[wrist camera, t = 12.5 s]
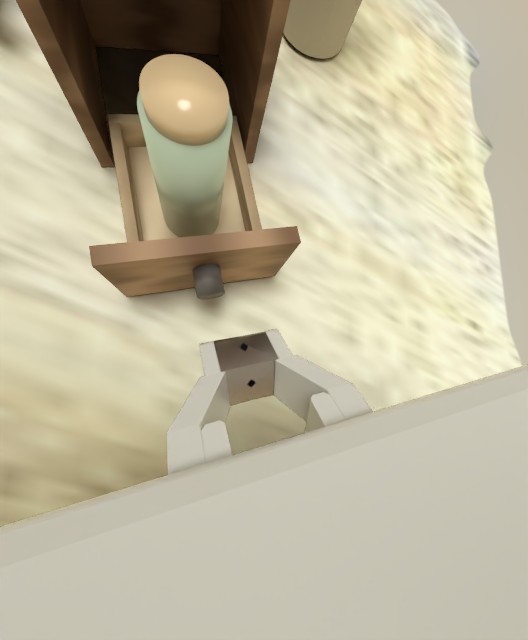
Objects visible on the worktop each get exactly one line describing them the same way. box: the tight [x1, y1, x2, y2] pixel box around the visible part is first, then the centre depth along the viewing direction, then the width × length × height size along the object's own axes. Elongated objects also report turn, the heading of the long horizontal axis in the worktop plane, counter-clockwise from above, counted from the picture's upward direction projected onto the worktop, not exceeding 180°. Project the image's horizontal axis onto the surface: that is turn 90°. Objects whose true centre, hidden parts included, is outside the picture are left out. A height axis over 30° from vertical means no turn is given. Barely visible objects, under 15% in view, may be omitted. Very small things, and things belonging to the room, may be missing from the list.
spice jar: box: [137, 54, 233, 237], centre depth 18 cm, size 5×5×11 cm
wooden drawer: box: [89, 114, 301, 299], centre depth 21 cm, size 13×16×7 cm
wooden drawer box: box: [16, 0, 291, 167], centre depth 19 cm, size 14×14×15 cm
